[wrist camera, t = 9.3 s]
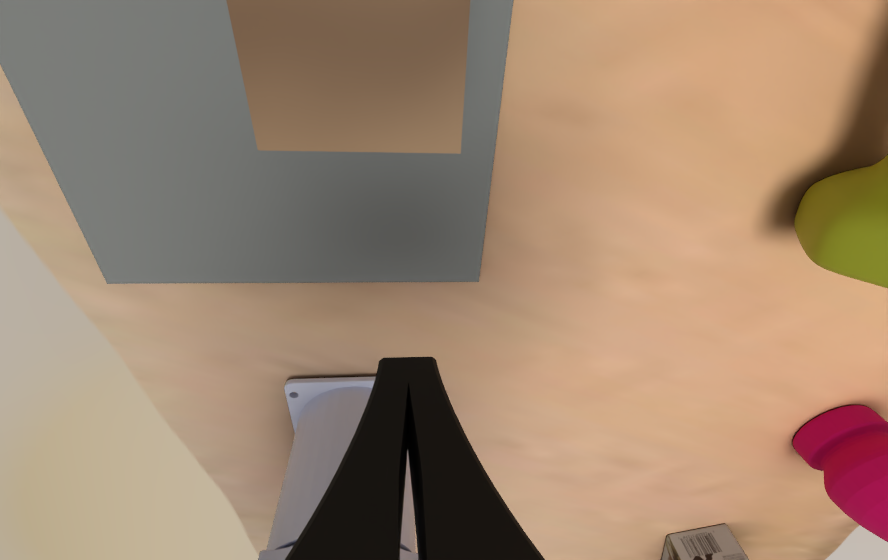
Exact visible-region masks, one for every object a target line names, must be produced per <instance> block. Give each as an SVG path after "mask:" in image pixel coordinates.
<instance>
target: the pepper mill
mask: <svg viewBox="0 0 888 560" xmlns="http://www.w3.org/2000/svg"><path fill="white" fill-rule="evenodd" d="M793 447H794V449H795V450H796V451H797V452H798V454H799V455H800V456H801V457H802V458H803V459H804V460H805V461H806V462H807V463H808V464H809V466H810V467H812V468H814V469H817V470H821V471H824V485H825V489H826V492H827V494H828V496H829V497H830V499H831V500H832V501H833V502H834V503H835V504H836V505H837V506H838V507H839V508H840V509H841V510H842V511H843V512H844V513H845V514H847V515H848V516H849V517H850V518H852V519H853V520H854V521H856V522H857V523H858V524H859V525H861V526H862V527H864V528H865V529H867V530H869V531H870V532H872V533H873V534H875V535H877V536H879V537H880V538H882V539H884V540H885V541H887V542H888V422H887V421H885V420H884V419H883V418H882V417H881V416H879V415H878V414H877V413H876V412H875V411H873V410H872V409H871V408H869V407H866V406H862V405H850V406H844V407H840V408H837V409H834V410H831V411H828V412H825V413H823V414H822V415H820V416H818V417H816V418H814V419H812V420H811V421H809V422H808V423H807V424H805V425H804V426H803V427H802V428H801V429H800V430H799V431H798V432H797V434H796V435H795V437H794V439H793Z"/></svg>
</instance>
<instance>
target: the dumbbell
mask: <svg viewBox="0 0 888 560" xmlns="http://www.w3.org/2000/svg"><path fill="white" fill-rule="evenodd" d="M794 226H795V231H796V234H797V236H798V239H799V241H800V243H801V245H802V247H803V249H804V251H805V253H806V254H807V256H808V257H809V258H810V259H811V260H812V261H813V262H814V263H816V264H817V265H818V266H820V267H822V268H824V269H826V270H829V271H832V272H835V273H838V274H841V275H844V276H847V277H850V278H854V279H857V280H861V281H864V282H868V283H871V284H875V285H878V286H882V287H885V288H888V154H887V156H886V157H884V158H883V159H882V160H881V161H879V162H878V163H876V164H874V165H873V166H869V167H863V168H858V169H854V170H850V171H846V172H842V173H839V174H836V175H833V176H830V177H827V178H825V179H823V180H821V181H819V182H817V183H815V184H813V185H812V186H811V187H810V188H809V189H808V190H807V191H806V193H805V194H804V196H803V198H802V200H801V202H800V204H799V207H798V210H797V213H796V216H795V221H794Z"/></svg>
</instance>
